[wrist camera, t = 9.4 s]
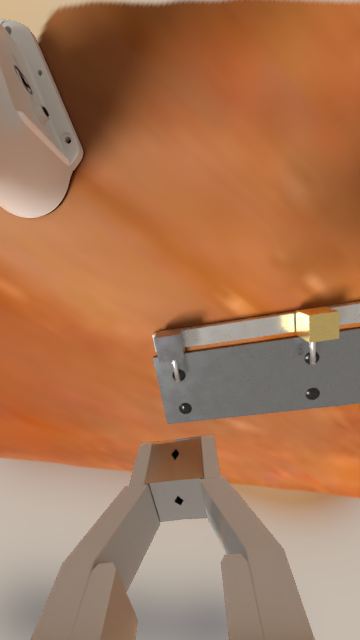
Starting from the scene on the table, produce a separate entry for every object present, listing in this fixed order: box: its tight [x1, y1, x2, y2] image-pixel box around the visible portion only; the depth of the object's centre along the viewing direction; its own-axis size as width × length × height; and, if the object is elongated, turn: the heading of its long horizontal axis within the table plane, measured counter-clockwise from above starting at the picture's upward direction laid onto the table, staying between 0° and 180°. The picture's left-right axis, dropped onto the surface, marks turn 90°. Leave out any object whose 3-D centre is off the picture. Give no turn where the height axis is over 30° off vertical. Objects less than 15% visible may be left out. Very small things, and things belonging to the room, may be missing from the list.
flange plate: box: [153, 328, 360, 424], centre depth 35 cm, size 14×36×1 cm, turn 100°
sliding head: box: [296, 307, 340, 365], centre depth 30 cm, size 9×4×4 cm, turn 10°
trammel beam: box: [152, 301, 360, 382], centre depth 31 cm, size 9×34×5 cm, turn 100°
